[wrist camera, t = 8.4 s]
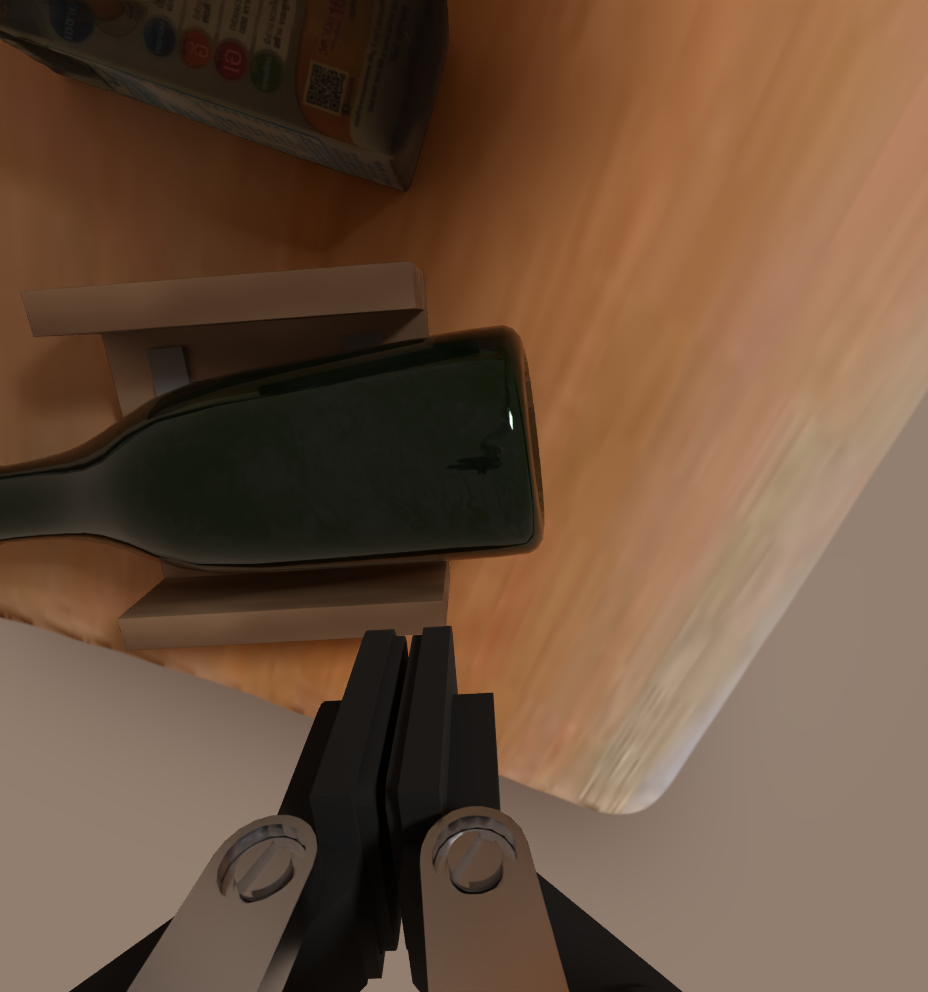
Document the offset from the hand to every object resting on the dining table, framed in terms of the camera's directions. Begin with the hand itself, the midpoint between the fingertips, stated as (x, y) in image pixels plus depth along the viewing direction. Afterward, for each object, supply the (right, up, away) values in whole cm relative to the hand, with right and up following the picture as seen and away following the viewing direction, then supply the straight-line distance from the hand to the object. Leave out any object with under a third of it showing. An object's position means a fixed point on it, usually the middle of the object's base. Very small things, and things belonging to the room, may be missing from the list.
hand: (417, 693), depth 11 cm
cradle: (-10, +7, +23) cm, 26 cm away
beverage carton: (-10, +26, +18) cm, 33 cm away
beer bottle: (+4, +7, +15) cm, 17 cm away
